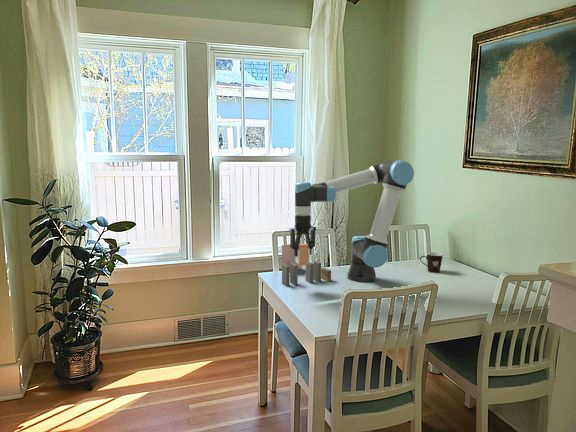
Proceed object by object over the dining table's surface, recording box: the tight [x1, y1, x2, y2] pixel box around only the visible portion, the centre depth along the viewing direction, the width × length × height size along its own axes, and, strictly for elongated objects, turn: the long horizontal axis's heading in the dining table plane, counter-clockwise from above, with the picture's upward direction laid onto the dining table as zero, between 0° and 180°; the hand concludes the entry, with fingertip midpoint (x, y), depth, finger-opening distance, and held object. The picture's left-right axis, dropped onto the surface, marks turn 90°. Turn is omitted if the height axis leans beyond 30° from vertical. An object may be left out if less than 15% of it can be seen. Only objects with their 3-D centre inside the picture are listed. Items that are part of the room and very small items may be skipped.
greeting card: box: [281, 244, 301, 270], centre depth 243 cm, size 11×7×15 cm, turn 113°
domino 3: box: [305, 261, 314, 284], centre depth 224 cm, size 2×5×10 cm, turn 25°
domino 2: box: [289, 263, 299, 286], centre depth 220 cm, size 2×5×10 cm, turn 26°
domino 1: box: [281, 264, 290, 287], centre depth 218 cm, size 2×5×10 cm, turn 25°
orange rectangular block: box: [297, 243, 308, 267], centre depth 210 cm, size 2×5×10 cm, turn 116°
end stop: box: [321, 266, 332, 283], centre depth 228 cm, size 2×7×6 cm, turn 25°
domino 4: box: [312, 260, 322, 283], centre depth 226 cm, size 2×5×10 cm, turn 25°
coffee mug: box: [419, 252, 444, 274], centre depth 249 cm, size 12×9×10 cm
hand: (302, 261), depth 211 cm, fingers closed on orange rectangular block, 5 cm apart
